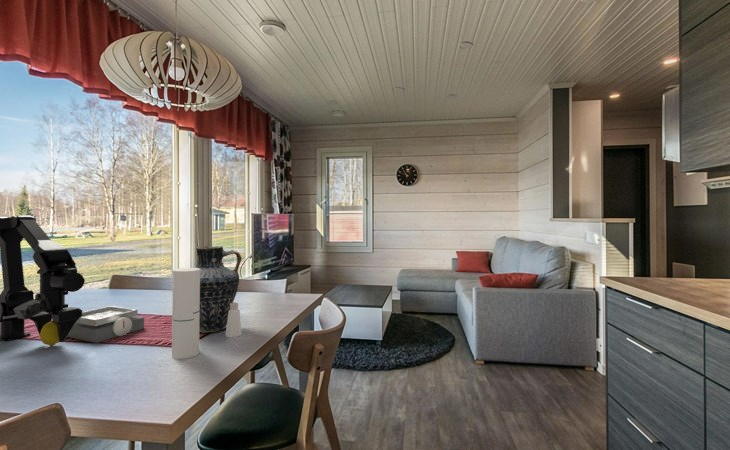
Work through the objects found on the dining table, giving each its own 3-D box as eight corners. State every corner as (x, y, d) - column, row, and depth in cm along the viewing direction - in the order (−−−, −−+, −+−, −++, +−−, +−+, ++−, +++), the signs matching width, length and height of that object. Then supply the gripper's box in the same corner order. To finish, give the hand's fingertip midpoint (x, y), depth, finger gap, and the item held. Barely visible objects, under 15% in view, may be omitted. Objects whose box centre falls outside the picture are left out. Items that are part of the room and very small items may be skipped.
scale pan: (67, 321, 117) (67, 315, 116) (110, 311, 130) (111, 305, 130) (95, 326, 112) (95, 320, 112) (137, 315, 125) (137, 309, 125)
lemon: (49, 350, 103) (49, 323, 103) (35, 348, 104) (35, 322, 104) (68, 344, 109) (69, 318, 109) (54, 342, 110) (55, 317, 110)
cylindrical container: (204, 351, 105) (205, 268, 104) (185, 360, 98) (186, 272, 97) (186, 348, 107) (187, 267, 107) (166, 356, 100) (166, 270, 100)
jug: (187, 342, 112) (188, 249, 111) (172, 327, 126) (173, 245, 126) (249, 330, 125) (250, 247, 125) (229, 318, 140) (230, 243, 140)
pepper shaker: (244, 332, 122) (245, 301, 122) (237, 338, 117) (237, 305, 117) (230, 332, 123) (230, 301, 123) (222, 337, 117) (222, 304, 117)
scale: (60, 335, 116) (60, 317, 116) (110, 322, 131) (110, 306, 131) (98, 343, 110) (98, 324, 110) (146, 328, 125) (146, 312, 125)
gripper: (0, 291, 102) (0, 344, 102) (38, 297, 96) (38, 353, 96) (45, 284, 113) (45, 332, 113) (83, 289, 106) (83, 340, 106)
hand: (52, 339), depth 107 cm, fingers open, 9 cm apart
